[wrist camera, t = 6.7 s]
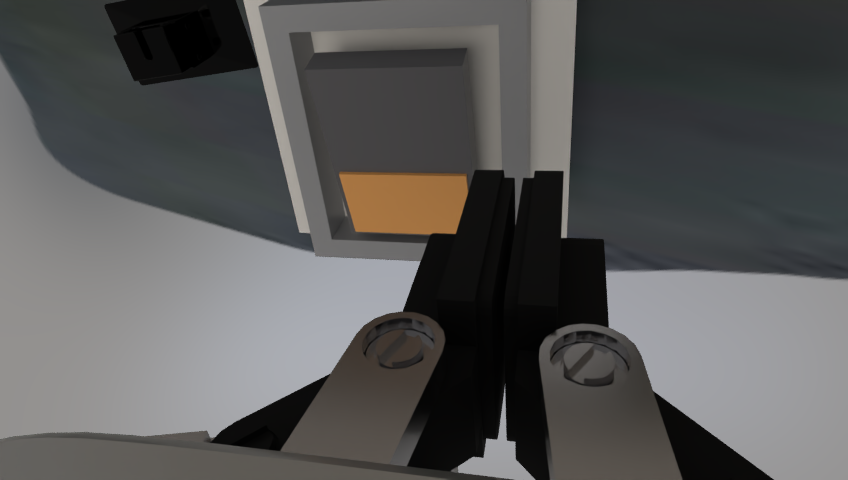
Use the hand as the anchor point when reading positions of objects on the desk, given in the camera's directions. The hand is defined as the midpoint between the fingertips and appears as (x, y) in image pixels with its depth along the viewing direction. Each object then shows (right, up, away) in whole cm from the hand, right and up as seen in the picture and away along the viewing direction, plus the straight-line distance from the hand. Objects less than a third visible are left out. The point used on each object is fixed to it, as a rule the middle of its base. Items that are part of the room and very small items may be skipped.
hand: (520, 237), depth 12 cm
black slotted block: (-18, +14, +30) cm, 37 cm away
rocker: (-3, +5, +19) cm, 19 cm away
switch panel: (-1, +10, +27) cm, 29 cm away
